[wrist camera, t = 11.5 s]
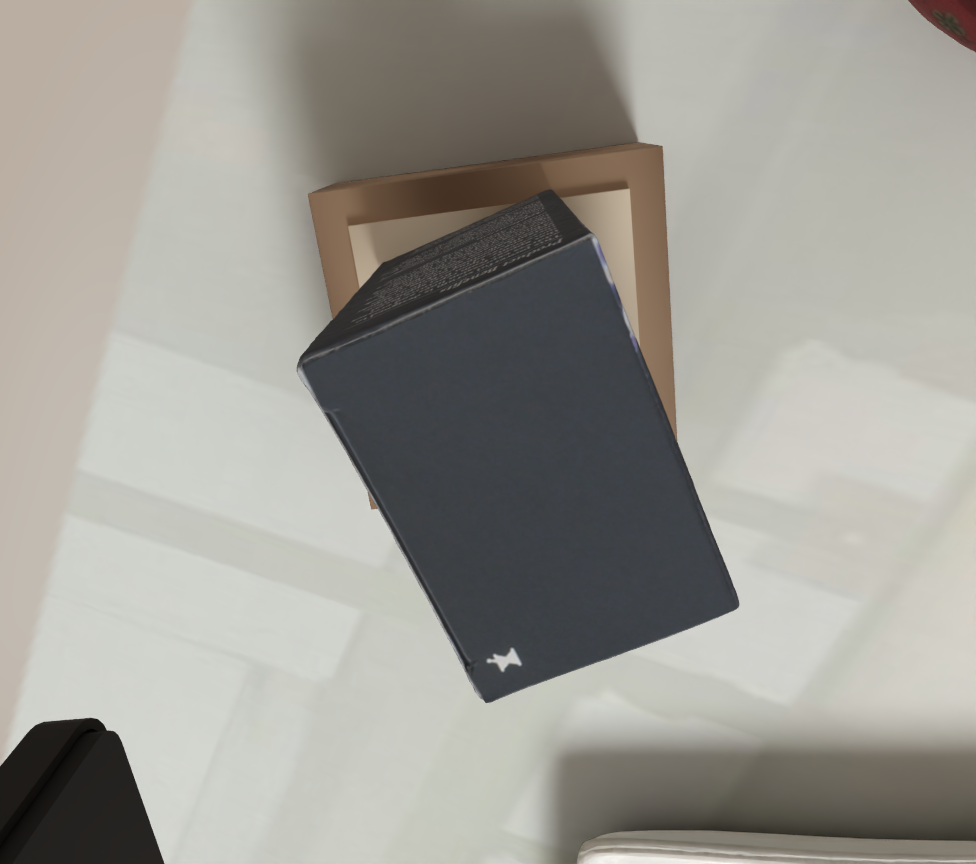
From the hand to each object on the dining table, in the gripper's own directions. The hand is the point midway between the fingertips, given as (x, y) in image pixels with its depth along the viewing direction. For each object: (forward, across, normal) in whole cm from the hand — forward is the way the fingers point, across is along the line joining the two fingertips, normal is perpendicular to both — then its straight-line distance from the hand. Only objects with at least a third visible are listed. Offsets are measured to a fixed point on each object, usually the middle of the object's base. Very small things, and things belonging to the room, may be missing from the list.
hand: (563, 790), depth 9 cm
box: (+17, 0, 0) cm, 17 cm away
